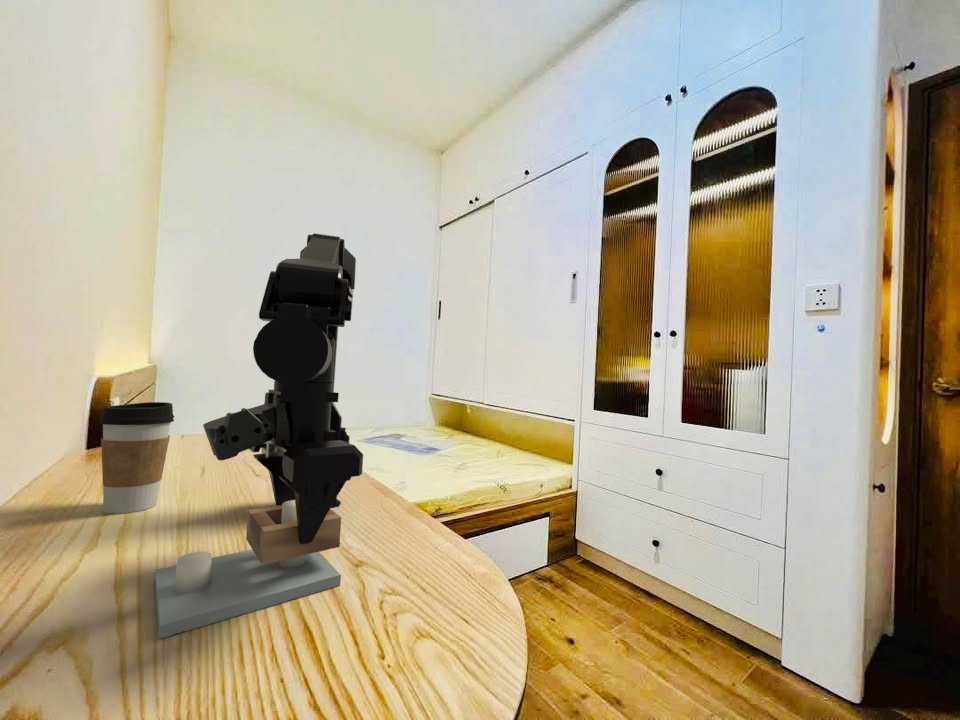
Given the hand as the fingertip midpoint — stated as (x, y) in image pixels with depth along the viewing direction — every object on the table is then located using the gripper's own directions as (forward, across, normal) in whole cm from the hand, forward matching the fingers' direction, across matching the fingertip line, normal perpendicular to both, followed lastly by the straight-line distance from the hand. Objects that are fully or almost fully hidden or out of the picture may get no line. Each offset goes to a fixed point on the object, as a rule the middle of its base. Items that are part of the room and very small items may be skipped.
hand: (294, 530), depth 42 cm
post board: (+4, 0, -4) cm, 6 cm away
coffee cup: (+4, -33, -13) cm, 36 cm away
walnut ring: (+1, 0, 0) cm, 1 cm away
